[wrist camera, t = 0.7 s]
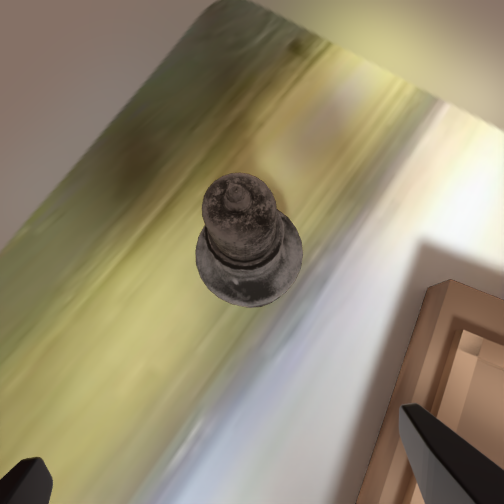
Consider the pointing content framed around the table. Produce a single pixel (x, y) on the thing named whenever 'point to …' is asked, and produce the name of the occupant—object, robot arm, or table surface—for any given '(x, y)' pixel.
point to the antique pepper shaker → (246, 243)
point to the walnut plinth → (444, 386)
